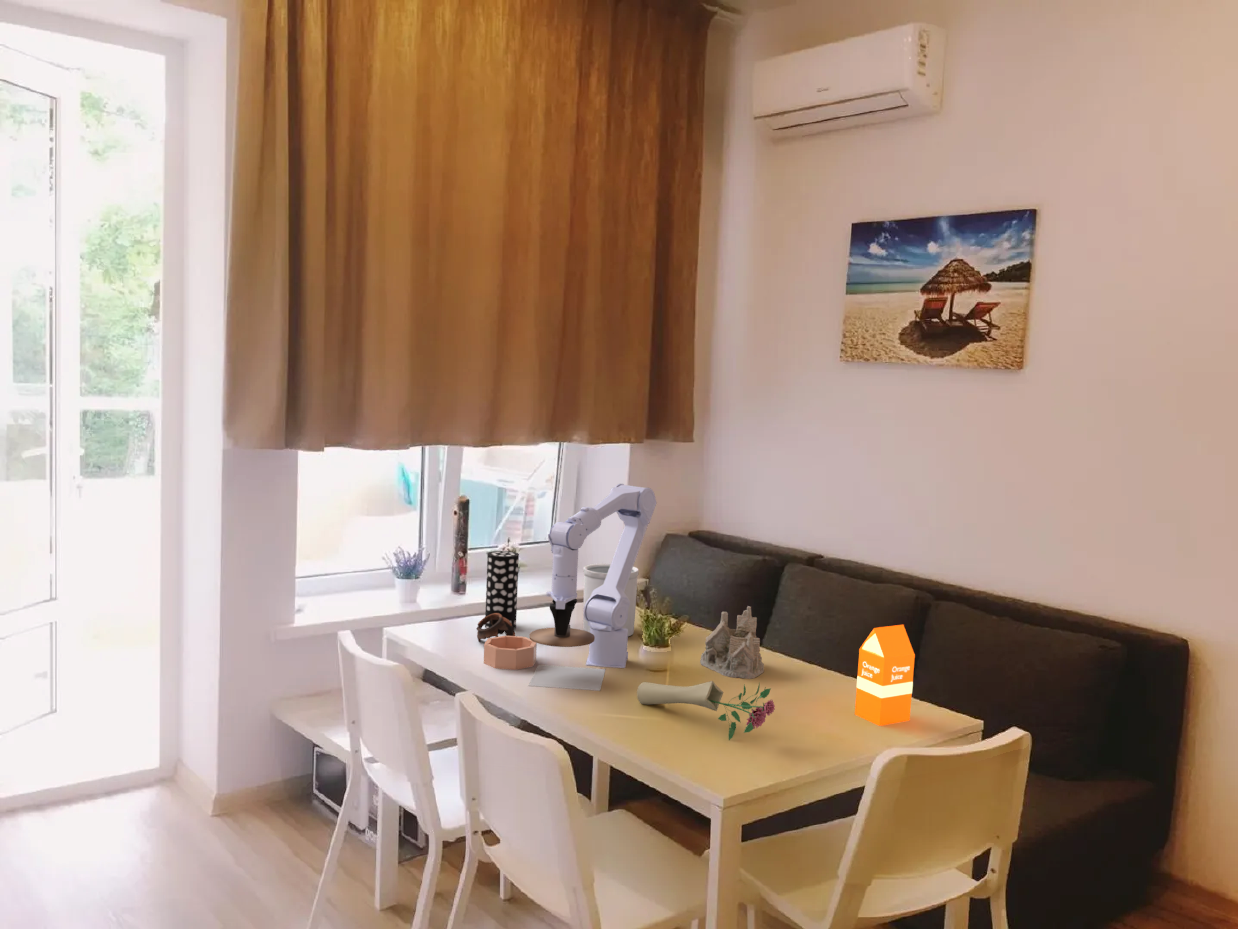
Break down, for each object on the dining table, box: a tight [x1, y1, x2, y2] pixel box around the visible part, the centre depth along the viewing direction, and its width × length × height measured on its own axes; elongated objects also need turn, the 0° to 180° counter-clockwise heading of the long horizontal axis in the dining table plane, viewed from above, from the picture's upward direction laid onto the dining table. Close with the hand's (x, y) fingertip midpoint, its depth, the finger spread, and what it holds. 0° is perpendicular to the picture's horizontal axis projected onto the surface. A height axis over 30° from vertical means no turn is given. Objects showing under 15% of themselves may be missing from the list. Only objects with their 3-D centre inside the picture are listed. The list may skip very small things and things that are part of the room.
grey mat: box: [527, 664, 606, 692], centre depth 240 cm, size 16×16×1 cm
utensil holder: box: [582, 563, 640, 637], centre depth 281 cm, size 15×15×18 cm
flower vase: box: [636, 680, 776, 741], centre depth 213 cm, size 12×12×35 cm
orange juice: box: [854, 624, 916, 727], centre depth 223 cm, size 8×9×20 cm
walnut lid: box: [528, 624, 595, 648], centre depth 240 cm, size 15×15×3 cm
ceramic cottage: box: [700, 605, 765, 680], centre depth 254 cm, size 16×16×15 cm
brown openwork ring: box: [476, 613, 517, 642], centre depth 268 cm, size 12×10×8 cm
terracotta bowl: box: [483, 635, 538, 671], centre depth 249 cm, size 12×12×5 cm
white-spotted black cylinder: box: [484, 550, 520, 630], centre depth 281 cm, size 8×8×20 cm
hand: (562, 632), depth 240 cm, fingers closed on walnut lid, 4 cm apart
